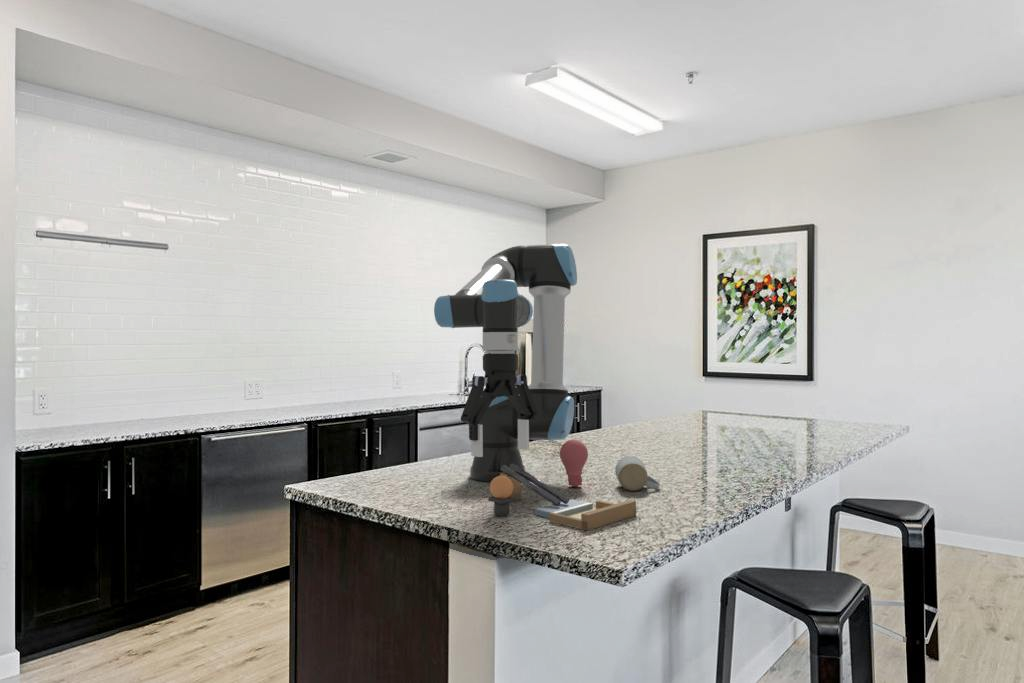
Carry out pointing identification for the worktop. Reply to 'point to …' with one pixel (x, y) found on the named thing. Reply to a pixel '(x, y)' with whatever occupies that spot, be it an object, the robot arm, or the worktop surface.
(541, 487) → the ramp
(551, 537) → the worktop surface
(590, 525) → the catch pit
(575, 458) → the light bulb
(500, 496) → the ball
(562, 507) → the block
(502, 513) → the tee
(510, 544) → the worktop surface
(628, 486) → the ceramic mug
